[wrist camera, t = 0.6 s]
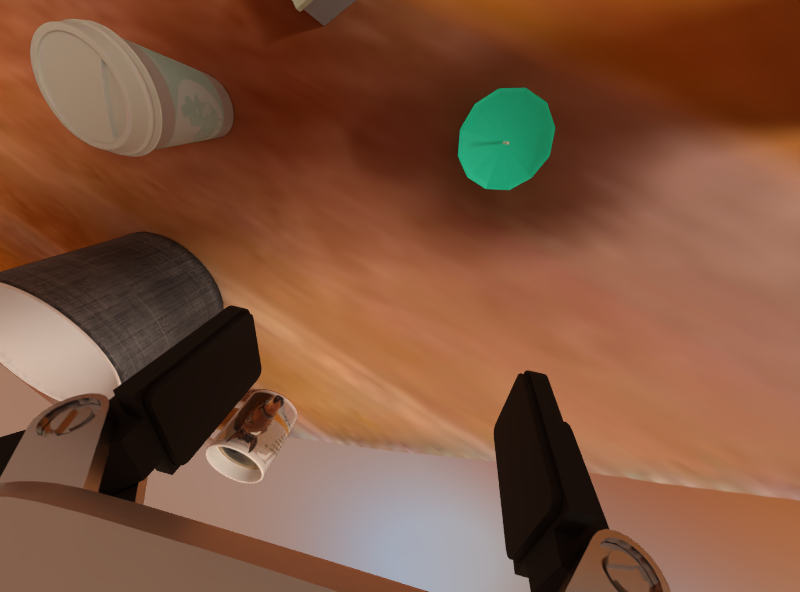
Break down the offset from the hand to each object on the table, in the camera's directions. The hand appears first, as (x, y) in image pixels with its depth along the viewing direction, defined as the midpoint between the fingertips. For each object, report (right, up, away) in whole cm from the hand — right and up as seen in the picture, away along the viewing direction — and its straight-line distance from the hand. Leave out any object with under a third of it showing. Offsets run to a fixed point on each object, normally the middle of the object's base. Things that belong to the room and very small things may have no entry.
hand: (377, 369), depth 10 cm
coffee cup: (-20, +23, +21) cm, 37 cm away
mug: (-24, -18, +44) cm, 53 cm away
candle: (+9, +18, +18) cm, 27 cm away
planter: (-35, +4, +35) cm, 49 cm away
